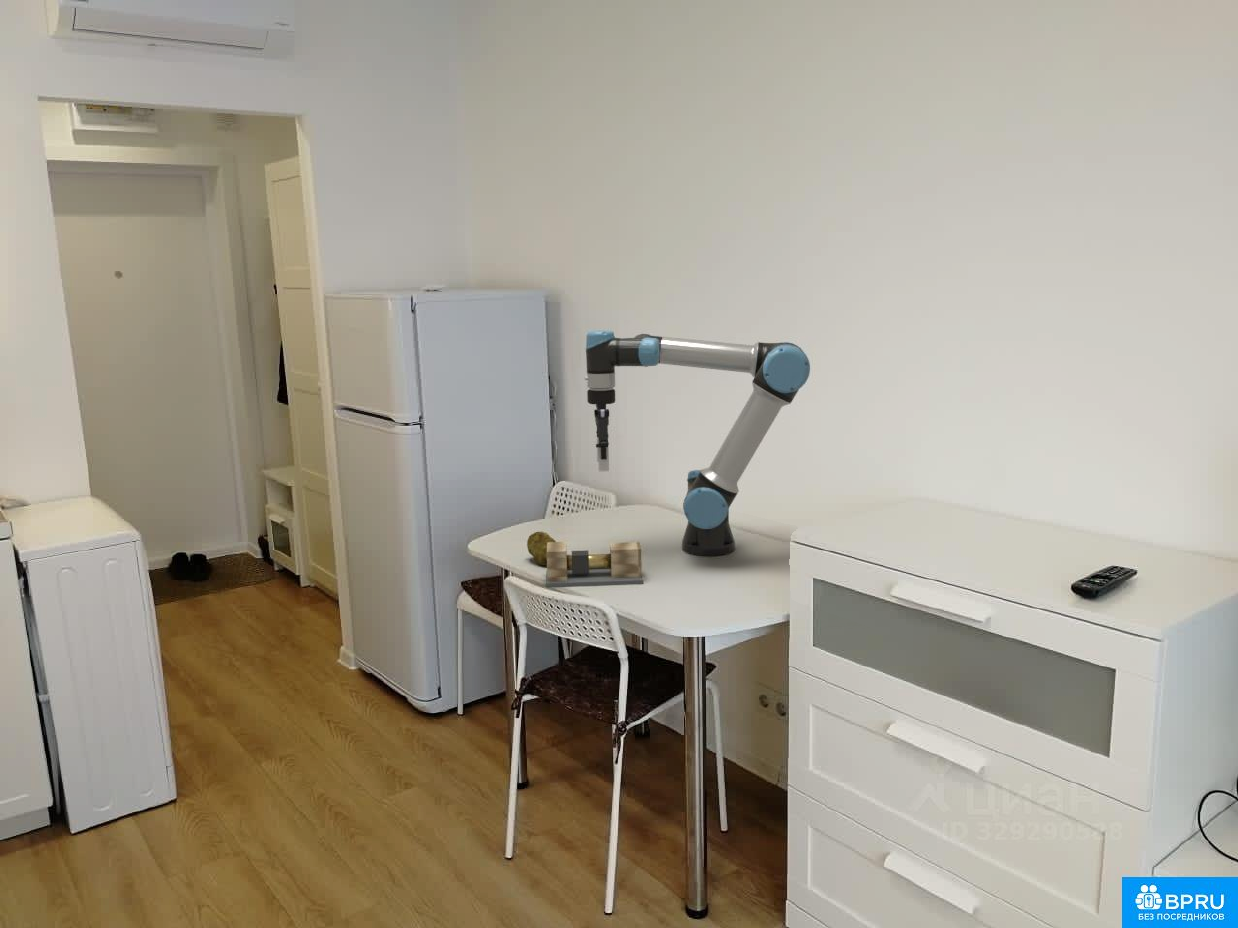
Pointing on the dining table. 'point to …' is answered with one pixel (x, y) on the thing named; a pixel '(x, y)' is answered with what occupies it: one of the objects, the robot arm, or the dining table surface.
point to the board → (593, 579)
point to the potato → (539, 546)
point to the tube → (587, 562)
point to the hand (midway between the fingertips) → (603, 466)
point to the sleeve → (626, 560)
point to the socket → (556, 561)
